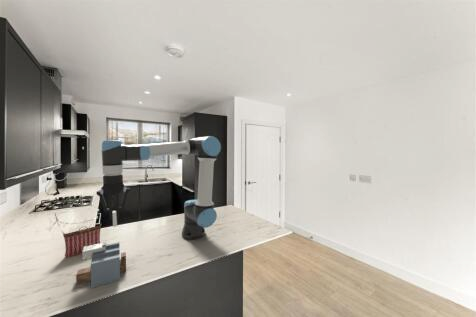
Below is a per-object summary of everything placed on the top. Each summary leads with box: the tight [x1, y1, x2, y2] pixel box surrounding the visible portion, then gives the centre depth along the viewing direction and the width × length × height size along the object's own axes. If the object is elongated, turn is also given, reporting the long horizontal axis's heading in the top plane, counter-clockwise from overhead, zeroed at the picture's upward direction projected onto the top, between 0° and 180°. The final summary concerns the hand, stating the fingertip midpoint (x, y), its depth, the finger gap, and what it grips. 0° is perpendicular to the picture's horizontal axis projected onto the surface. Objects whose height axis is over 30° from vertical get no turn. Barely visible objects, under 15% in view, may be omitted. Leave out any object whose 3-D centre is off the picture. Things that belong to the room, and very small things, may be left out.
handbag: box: [52, 213, 102, 259], centre depth 103 cm, size 7×21×25 cm, turn 141°
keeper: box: [81, 239, 107, 261], centre depth 85 cm, size 8×5×4 cm, turn 122°
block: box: [90, 241, 121, 289], centre depth 88 cm, size 10×16×12 cm, turn 32°
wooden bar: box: [75, 251, 127, 285], centre depth 87 cm, size 18×4×7 cm, turn 121°
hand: (115, 225), depth 89 cm, fingers closed
